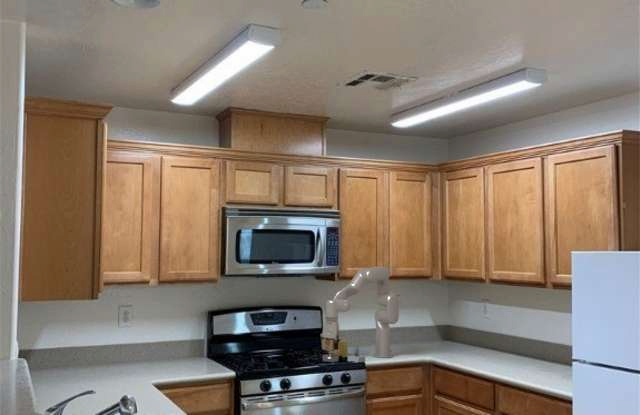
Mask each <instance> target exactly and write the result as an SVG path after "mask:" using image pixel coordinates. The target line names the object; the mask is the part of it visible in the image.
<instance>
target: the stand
mask: <svg viewBox="0 0 640 415" xmlns="http://www.w3.org/2000/svg"><path fill="white" fill-rule="evenodd" d="M351 361H354V362H353V363H358V362H359V363H363V362H366V356H365V355H359V346H358V345H357V346H356V345H355V346H354V354H351V355H348V357H347V362H351Z"/></svg>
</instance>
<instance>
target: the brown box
mask: <svg viewBox="0 0 640 415" xmlns="http://www.w3.org/2000/svg"><path fill="white" fill-rule="evenodd" d="M334 343H335V340H334V339H331V338H328V339H322V350H326V351H327V350H328V351H329V350H335V349H334ZM338 347H339V343H338ZM336 350H338V349H336Z"/></svg>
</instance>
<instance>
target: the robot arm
mask: <svg viewBox="0 0 640 415" xmlns="http://www.w3.org/2000/svg"><path fill="white" fill-rule="evenodd" d="M390 277H391V271H390V268H388V267H386V266H371V267H369V268H366V267H365V268H364V267H362V268H360V269H358V271H357V272H356V274H355V275H354V276H353V277H352V279H351V280H350V281H349V283H348V284H346V286H344V287H343V288H342V289H340V290H339V291H338V292H337V293H336V294H335V296H334V297H333V299H328V300H326V305H325V308H326V309H325V317H324V320H325V321H324V322H323V329H322V332H321V333H320V337H321V340H323V339H334V340H335V343H334V349H335V350H336V349H338V343H339V341H340V340H343V336H342V334H341V333H340V325H339V317H338V316H339V312H343V313H345V312H349V311H350V310H351V307H352V305H351V302H350V301H349V300H347V299H348V298H350V297H351V296H354V295H357V294H358V293H360V292H361V290H362V289H363V288H364V286H365V285H366V283H367V282H369V283H370V282H373V283H374V282H375V285H376V303H377V305H379V307H380V308H378V309H377V310H376V311H374V312H375V313H374V320H375V322H374V323H375V352H374V353H373V354H372V356H373V357H375V358H380V359H381V358H385V359H389V358H392V357H393V354H391V353H393V349H391V327H390V325H394V324H397V322H398V321H399V318H400V317H399V316H400V303H399V302H400V301H399V296H398V295H397V294H396V293H394V292H391V291H390V283H389V281H388V279H389V278H390ZM382 307H383V308H382ZM384 307H386V308H384Z"/></svg>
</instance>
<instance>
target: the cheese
mask: <svg viewBox="0 0 640 415" xmlns="http://www.w3.org/2000/svg"><path fill="white" fill-rule="evenodd" d="M348 350H349V348H348V339H347V340H346V339H341V340H340V341H339V347H338V350H333V355H338V356H342V357H341V358H345V357H347V358H348V356H349V352H348Z"/></svg>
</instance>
